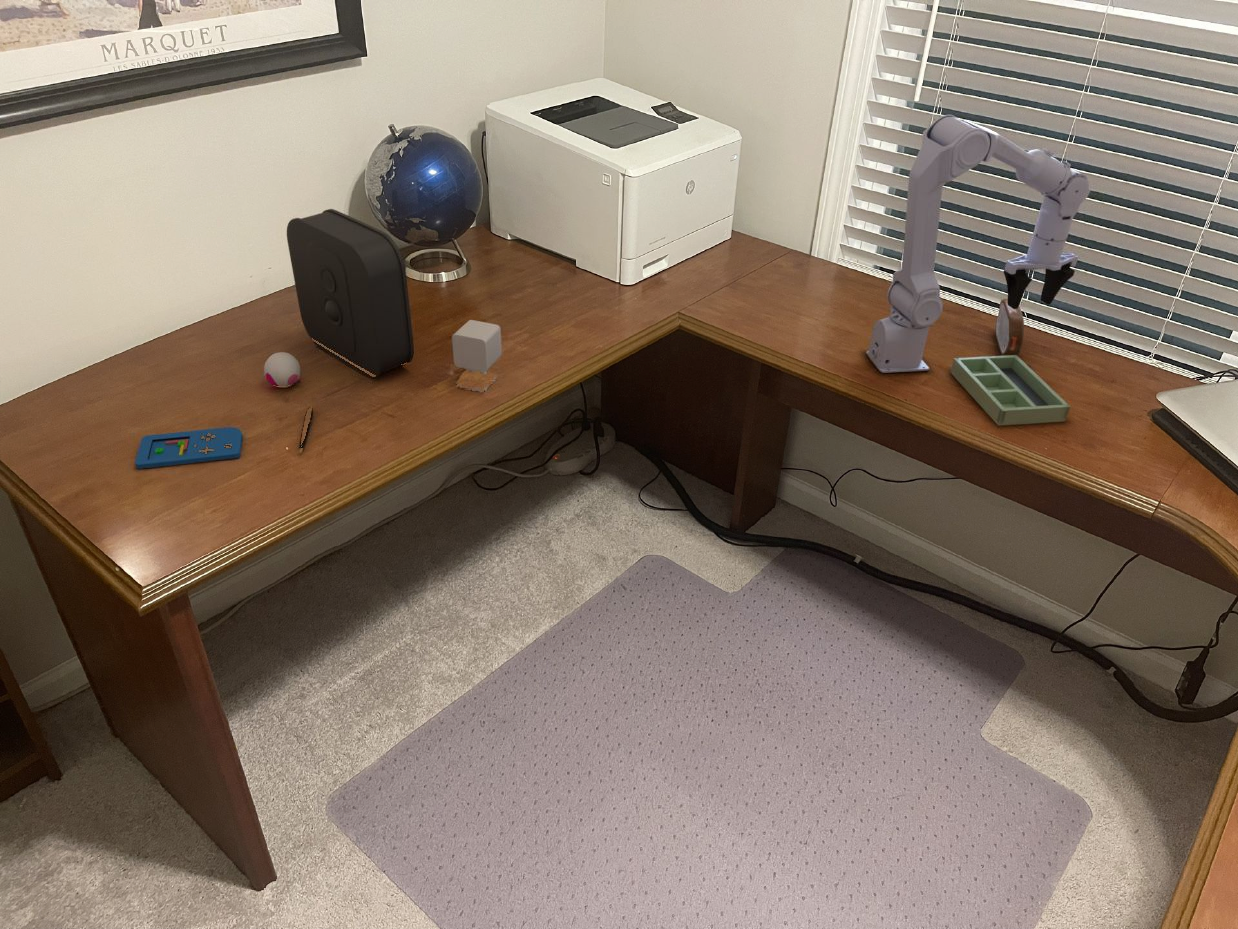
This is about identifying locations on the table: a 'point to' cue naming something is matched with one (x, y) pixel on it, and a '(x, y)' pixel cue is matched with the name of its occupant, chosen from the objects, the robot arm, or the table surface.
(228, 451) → the handheld gaming device
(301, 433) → the fountain pen
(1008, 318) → the tin
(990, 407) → the organizer
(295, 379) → the stress ball
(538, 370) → the table surface
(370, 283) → the speaker
